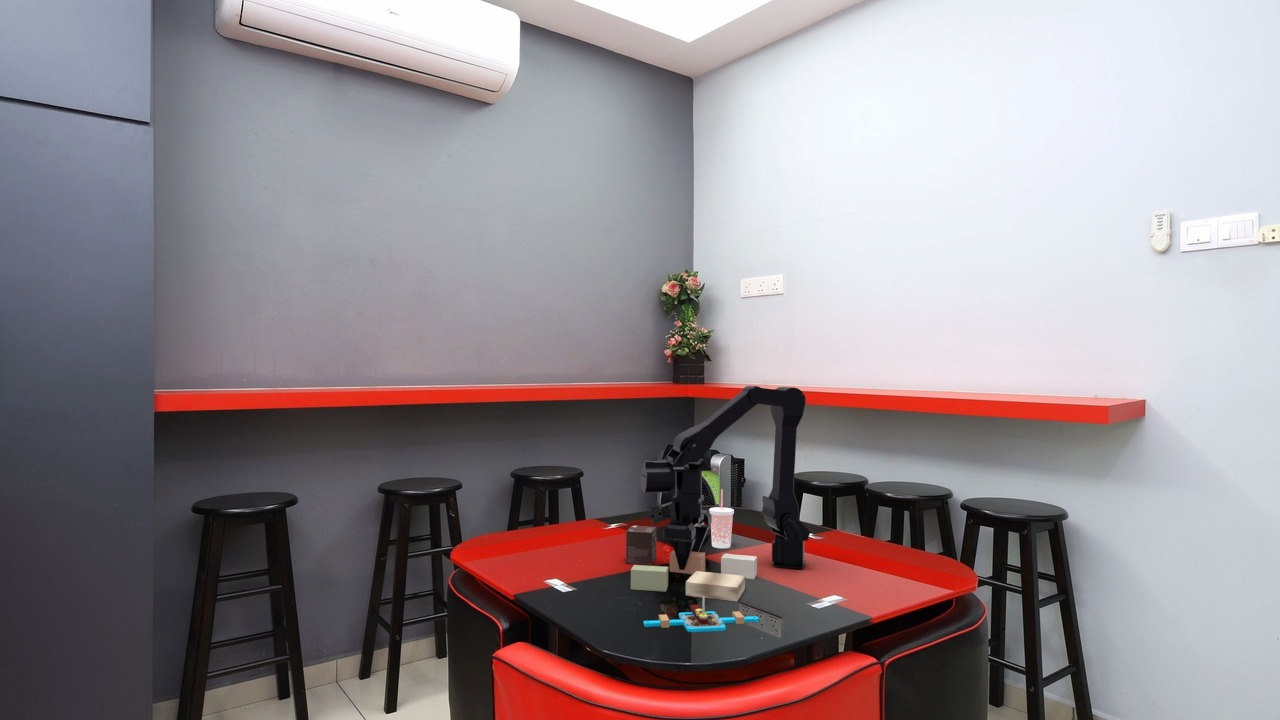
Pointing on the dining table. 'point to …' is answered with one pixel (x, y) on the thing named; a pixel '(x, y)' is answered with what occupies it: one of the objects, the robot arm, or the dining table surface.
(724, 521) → the beverage cup
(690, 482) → the robot arm
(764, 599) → the dining table surface
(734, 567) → the cream brick
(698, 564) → the terracotta brick
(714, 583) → the beech slab
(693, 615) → the gear mechanism
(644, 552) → the box
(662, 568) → the olive brick
